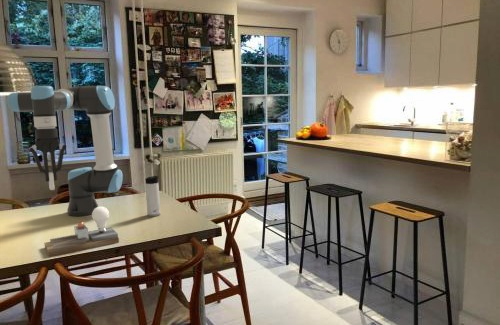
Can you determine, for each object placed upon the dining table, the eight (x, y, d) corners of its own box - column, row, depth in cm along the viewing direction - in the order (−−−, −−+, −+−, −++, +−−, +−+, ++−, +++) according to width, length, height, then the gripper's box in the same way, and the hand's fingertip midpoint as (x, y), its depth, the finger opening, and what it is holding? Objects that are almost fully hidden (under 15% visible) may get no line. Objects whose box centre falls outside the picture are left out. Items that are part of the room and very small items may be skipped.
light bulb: (113, 232, 170) (111, 206, 169) (98, 236, 166) (96, 209, 164) (105, 228, 175) (103, 203, 173) (90, 232, 170) (88, 207, 168)
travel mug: (157, 217, 203) (155, 177, 199) (145, 216, 204) (142, 177, 201) (162, 213, 209) (160, 174, 206) (150, 213, 210) (148, 174, 207)
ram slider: (75, 238, 167) (73, 221, 166) (85, 236, 169) (84, 220, 168) (78, 242, 162) (76, 225, 161) (88, 240, 164) (87, 223, 163)
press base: (44, 247, 164) (44, 239, 164) (110, 234, 178) (110, 226, 178) (49, 256, 154) (48, 248, 154) (118, 242, 168) (118, 234, 168)
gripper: (27, 129, 147) (34, 193, 151) (66, 127, 154) (72, 188, 158) (25, 128, 153) (32, 190, 157) (62, 126, 160) (68, 185, 164)
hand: (52, 189), depth 157 cm, fingers closed
